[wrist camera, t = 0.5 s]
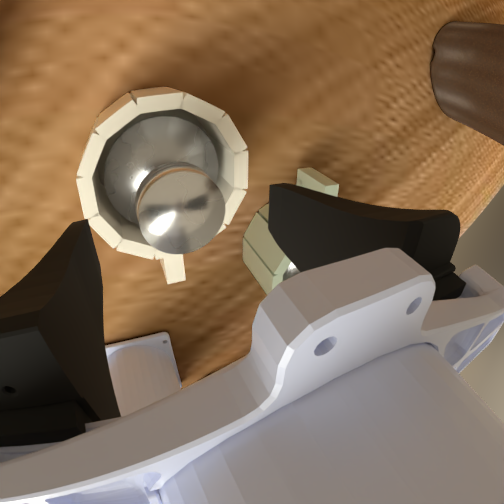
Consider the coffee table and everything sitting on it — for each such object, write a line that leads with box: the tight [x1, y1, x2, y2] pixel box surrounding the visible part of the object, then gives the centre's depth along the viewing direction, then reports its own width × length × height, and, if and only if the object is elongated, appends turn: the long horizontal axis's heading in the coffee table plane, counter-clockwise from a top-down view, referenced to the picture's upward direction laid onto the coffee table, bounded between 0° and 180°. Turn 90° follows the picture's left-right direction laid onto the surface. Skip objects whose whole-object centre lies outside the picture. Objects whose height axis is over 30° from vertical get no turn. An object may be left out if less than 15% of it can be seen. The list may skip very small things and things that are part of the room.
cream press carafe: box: [76, 87, 248, 284], centre depth 18 cm, size 12×9×6 cm
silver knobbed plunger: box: [104, 115, 225, 254], centre depth 15 cm, size 6×6×6 cm
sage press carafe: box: [243, 167, 339, 295], centre depth 26 cm, size 12×9×6 cm
